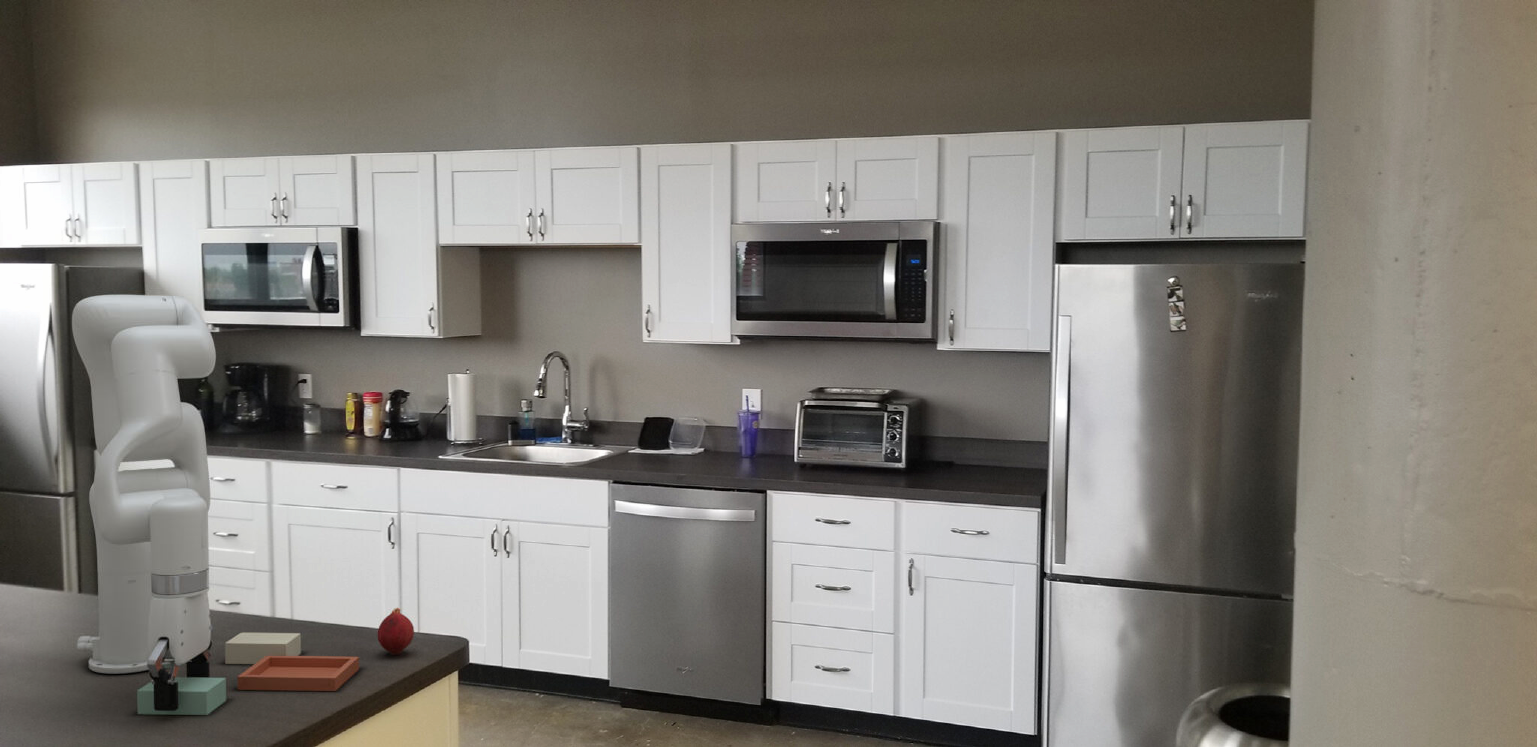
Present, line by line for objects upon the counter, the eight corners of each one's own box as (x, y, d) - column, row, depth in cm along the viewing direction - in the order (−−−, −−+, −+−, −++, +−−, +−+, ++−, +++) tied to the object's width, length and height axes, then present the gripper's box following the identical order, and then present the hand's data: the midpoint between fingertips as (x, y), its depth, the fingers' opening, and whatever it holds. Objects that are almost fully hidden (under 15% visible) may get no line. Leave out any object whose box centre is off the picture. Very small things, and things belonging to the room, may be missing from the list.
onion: (402, 661, 192) (402, 613, 192) (371, 658, 193) (370, 611, 193) (420, 650, 198) (419, 604, 197) (389, 648, 199) (388, 602, 199)
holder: (237, 689, 177) (237, 676, 177) (266, 667, 188) (266, 655, 188) (335, 691, 178) (335, 677, 177) (359, 669, 188) (359, 656, 188)
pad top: (225, 663, 190) (224, 642, 189) (241, 652, 196) (241, 632, 195) (286, 664, 190) (286, 643, 189) (300, 653, 196) (300, 633, 195)
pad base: (137, 714, 167) (136, 690, 166) (159, 699, 173) (158, 676, 172) (207, 714, 167) (206, 691, 166) (226, 700, 173) (225, 677, 172)
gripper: (184, 568, 177) (186, 679, 178) (121, 597, 160) (124, 719, 161) (233, 568, 177) (235, 679, 178) (176, 597, 160) (178, 720, 161)
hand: (182, 698), depth 169 cm, fingers open, 8 cm apart
